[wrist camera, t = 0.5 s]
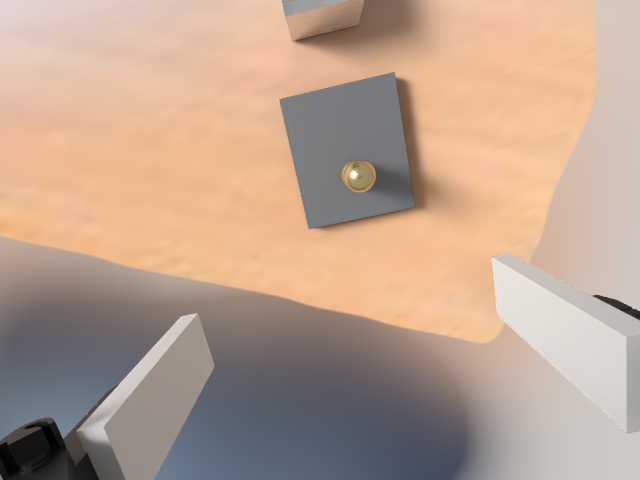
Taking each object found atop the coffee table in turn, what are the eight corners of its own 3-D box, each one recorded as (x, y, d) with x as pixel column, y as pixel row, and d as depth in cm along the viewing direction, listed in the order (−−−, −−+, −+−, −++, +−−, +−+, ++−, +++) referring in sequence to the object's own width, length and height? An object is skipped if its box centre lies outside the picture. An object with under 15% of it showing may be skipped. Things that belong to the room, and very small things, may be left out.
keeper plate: (281, 101, 36) (279, 99, 35) (391, 75, 36) (394, 72, 34) (309, 226, 39) (308, 229, 38) (411, 205, 39) (415, 207, 37)
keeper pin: (337, 163, 36) (341, 163, 28) (363, 157, 36) (374, 156, 27) (342, 188, 37) (347, 196, 28) (368, 183, 37) (380, 190, 28)
